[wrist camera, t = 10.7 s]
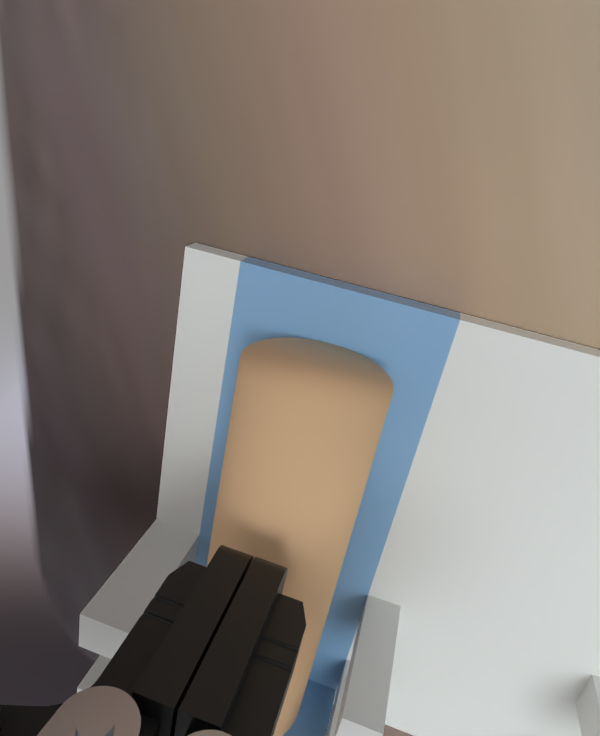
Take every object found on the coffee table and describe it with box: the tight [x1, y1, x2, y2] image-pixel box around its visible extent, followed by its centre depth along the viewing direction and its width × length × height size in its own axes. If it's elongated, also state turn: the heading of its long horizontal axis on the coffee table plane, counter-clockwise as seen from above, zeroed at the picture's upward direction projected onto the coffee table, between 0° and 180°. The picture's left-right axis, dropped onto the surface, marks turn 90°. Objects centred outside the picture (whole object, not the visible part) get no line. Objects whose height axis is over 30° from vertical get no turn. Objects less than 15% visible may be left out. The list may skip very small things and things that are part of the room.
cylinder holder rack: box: [77, 243, 600, 736], centre depth 14 cm, size 14×15×5 cm
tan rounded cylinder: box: [206, 337, 394, 736], centre depth 15 cm, size 11×4×4 cm, turn 169°
